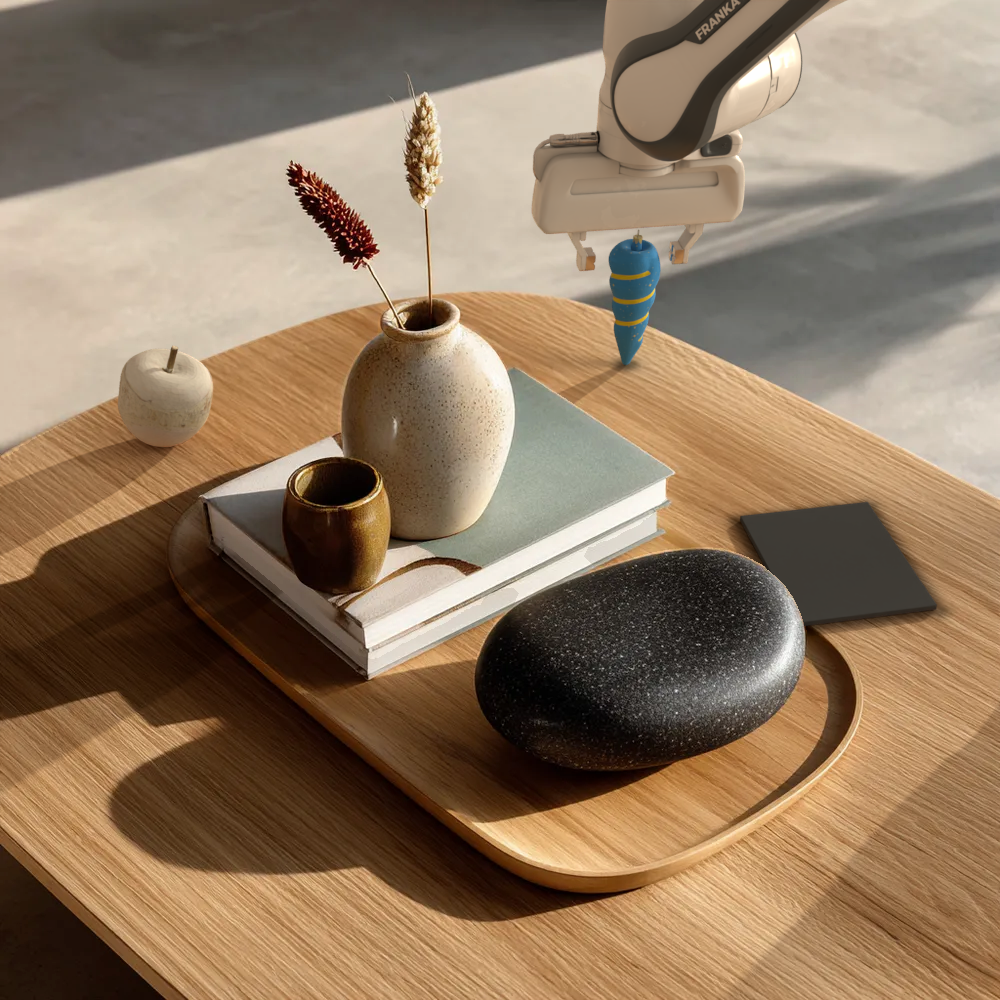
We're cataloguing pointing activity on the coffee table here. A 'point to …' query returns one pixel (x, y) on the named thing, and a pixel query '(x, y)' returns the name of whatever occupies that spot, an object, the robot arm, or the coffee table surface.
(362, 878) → the coffee table surface
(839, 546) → the mat
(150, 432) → the decorative object
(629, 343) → the ornament
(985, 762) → the coffee table surface
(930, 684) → the coffee table surface
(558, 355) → the coffee table surface
